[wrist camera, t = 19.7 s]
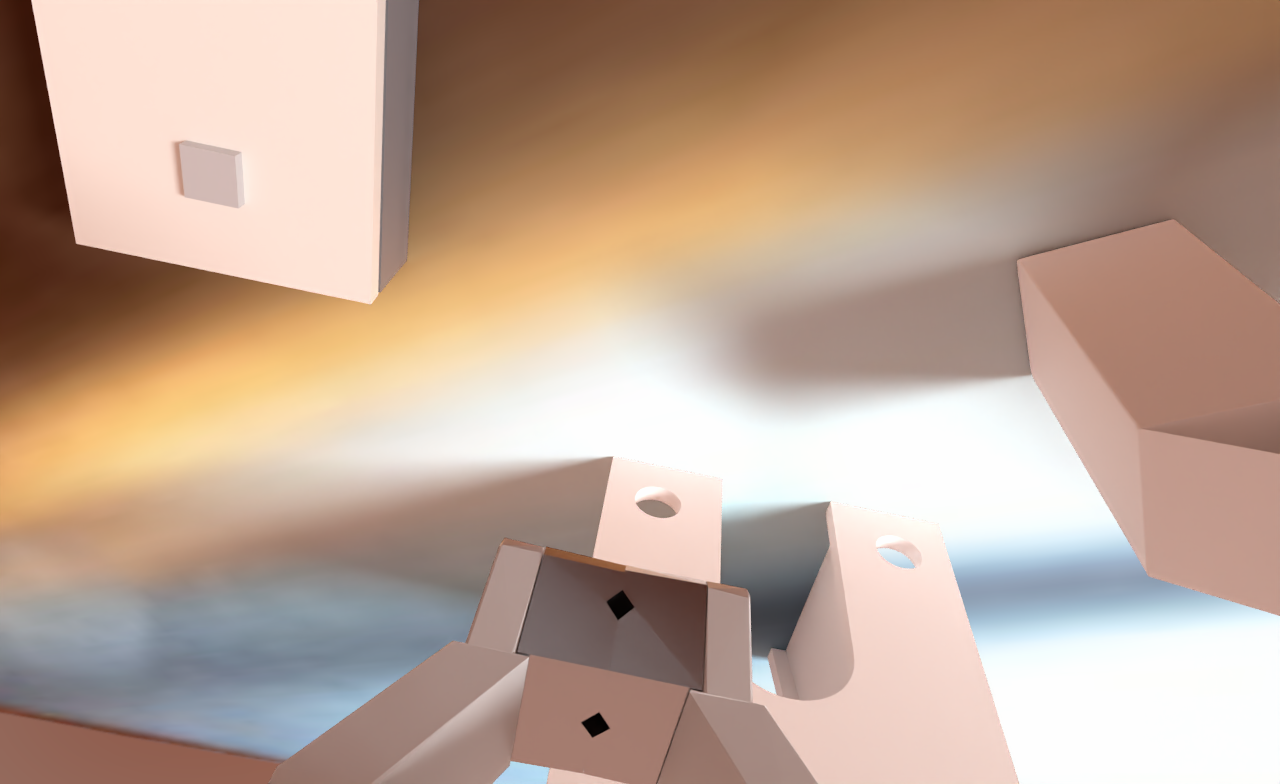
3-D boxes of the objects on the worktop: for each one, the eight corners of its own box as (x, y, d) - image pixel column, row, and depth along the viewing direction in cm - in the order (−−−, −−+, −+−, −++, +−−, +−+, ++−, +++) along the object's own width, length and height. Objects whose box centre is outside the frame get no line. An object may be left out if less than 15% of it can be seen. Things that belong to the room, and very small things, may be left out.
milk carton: (1030, 376, 45) (1195, 659, 29) (1014, 256, 42) (1191, 503, 25) (1177, 342, 43) (1439, 625, 27) (1173, 215, 40) (1470, 453, 24)
